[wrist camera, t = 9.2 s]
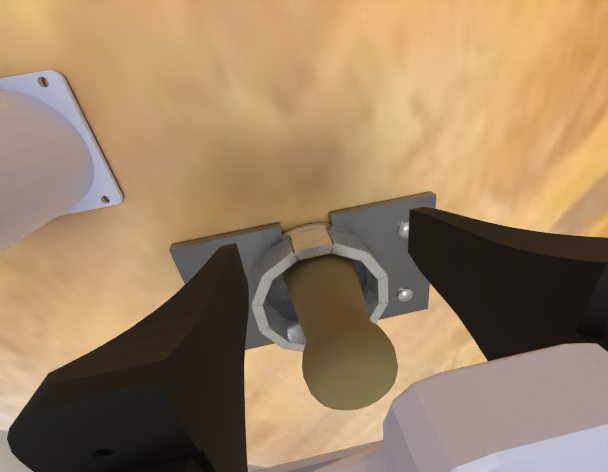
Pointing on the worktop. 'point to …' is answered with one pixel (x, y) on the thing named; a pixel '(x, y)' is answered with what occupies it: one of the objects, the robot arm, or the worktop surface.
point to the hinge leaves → (314, 242)
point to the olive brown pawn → (339, 334)
